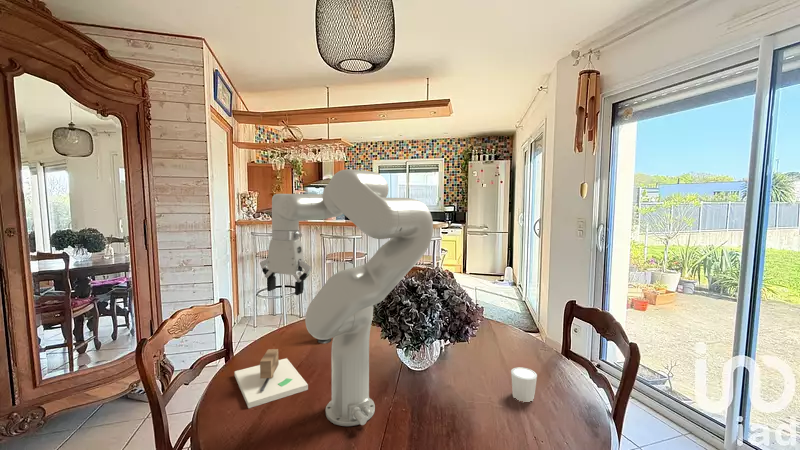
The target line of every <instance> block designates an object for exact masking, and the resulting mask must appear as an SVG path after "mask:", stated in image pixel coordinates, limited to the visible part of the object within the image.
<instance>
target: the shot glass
mask: <svg viewBox="0 0 800 450" xmlns="http://www.w3.org/2000/svg"><path fill="white" fill-rule="evenodd" d="M510 373H511V374H510V375H511V387H512V389H511V390H512V397H513V399H514V398H516V399H517V400H519V401H518V402H520V401H523V402H522V403H524V402H530V401H532V402H533V401H534V400H535V393H536V387H537V381H538V380H537V379H538V374H537V373H536V372H535V371H534V370H532V369H531V368H527V367H522V366H521V367H518V366H517V367H514V368H512V369H511V370H510ZM516 399H515V400H516ZM533 399H534V400H533ZM517 400H516V401H517ZM530 403H531V402H530Z"/></svg>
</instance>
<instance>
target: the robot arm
mask: <svg viewBox="0 0 800 450" xmlns="http://www.w3.org/2000/svg"><path fill="white" fill-rule="evenodd" d="M388 194H389V184H388V182H387V180H386V178H384V176H383V175H381V174H380V173H378V172H375V171H370V170H359V169H349V168H348V169H347V168H346V169H342V170H339V171H337V172H336V173H334V174H333V176H332V177H331V178H330V181H329V183H328V184H326V185H325V187H324V189H323V191H322V193H319V194H317V193H275V194H274V195H273V196H272V198H271V239H270V240H269V245H268V251H267V252H268V253H267V258H266V259H264V260H262V261H260V262H259V265H260V267H261V271H262V273H263V274H264V277H265V278H266V287H267V288H266V291H267V292H271V291H274V290H276V288H277V277H276V274H280V275H286V276H287V275H288V276H293V278H294V279H295V284H294V295H295V296H299V295H301V294H303V293H304V289H305V288H304V287H305V286H304V284H305V283H304V282H305V280H306V279H307V278H308V277H309V276H310V273H311V272H312V266H311V265H309V264H308V263H306V262H305V256H304V255H305V254H304V249H303V244H302V243H303V242H302V239H301V240H300V238H302V236H303V234H302V233H301V232H300V230H299V228H300V225H299V224H300V222H305V221H317V220H318V221H321V220H329V219H332V218H337V217H339V216H340V217H341V216H342V215H344V216H345V217H346V218H348V220H349V221H350V222H352V223H353V225H355V227H357V228H358V229H359V230H360V231H361V232H362V233H364V234H365V235H366V236H368V237H370V238H371V239H375V240H376V239H377V240H385V239H389V240H387V241H386V242H385V243H383V244H382V245H381V246H380V247H379V248H378V249H377V250H376V252H375V253H374V254H373V256H372V257H371V258H370V259H369V260H368V261H366V263H364V264H363V265H359V266H355V267H351V268H347V269H343V270H340V271H338V272H336V273H334V274H332V275H331V277H330V278H329V279H328V280H326V282H325V283H324V285H322V287H321V288H320V290H319V291H318V292H317V293H316V295H315V297H314V298H313V299H312V300H311V302H310V303H309V305H308V307H307V310H306V313H305V320H304V321H305V327H306V330H307V332H308V333H309V335H311V336H312V337H313V338H314V339H317V340H318V339H320V340H327V339H332V340H331V354H330V355H331V356H330V357H331V360H330V362H331V400H330V401H329V402H328V403H327V404H326V406H325V416H326V418H327V420H328V421H330V423H333V424H334V425H337V426H342V427H353V426H358V425H361V426H364V425H365V424H366V423H367V422H368V421H369V420H370V419H371V418H372V417H373V416H374V414H375V410H376V405H375V402H374V400H373V399H372V398H370V333H371V327H372V321H373V316H374V306H375V305H378V304H379V303H381V302H382V301H384V300H385V298H387V296H389V294H390V293H391V292H392V291H393V290H394V289H395V288H396V287H397V285H398V284H400V282H401V281H402V280H403V279H404V278H405V276H406V275H407V274H408V273H409V272H410V271H411V270H412V268H414V266H415V265H416V264H418V263H419V261H420V260H421V259H422V258H423V256H424V255H425V253H426V252H427V250H428V248H429V246H430V245H431V242H432V239H433V233H434V222H433V216H432V213H431V211H430V209H429V208H428V206H427V205H426V204H425V203H423V202H422V201H420V200H417V199H414V198H411V197H388V196H389V195H388Z"/></svg>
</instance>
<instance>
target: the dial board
mask: <svg viewBox="0 0 800 450" xmlns="http://www.w3.org/2000/svg"><path fill="white" fill-rule="evenodd" d="M278 362H279V365H278V367H277V368H276V370H275V372H274V374H273V378H270V380H269V381H268V383H267V385H266V387H265V388H264V390H263V391H261V392H260V389H261V387H262V386H263V384H264V382H265V381H266V379H267V378H260V364H258V365H254V366H250V367H246V368H243V369H238V370H235V371H234V377H235V380H236V382H237V384H238V385H237V386H238V388H239V390H240V391H241V394H242V396H243V399H244V401H245V404H246V406H247V408H248V409H252V408H253V407H254V408H255V407H257V406H261V405H264V404H266V403H267V404H268V403H270V402H274V401H276V400H280V399H282V398H286V397H289V396H292V395H295V394H299V393H302V392H305V391H308V390H309V384H308V383H307V381H306V380H305V378H303V377H302V375H301V374H300V372H298V370H297V369H296V368H295V367H294V365H293V364H292V362H290V360H289V359H288V357H286V358H282V359H278Z"/></svg>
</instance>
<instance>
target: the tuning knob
mask: <svg viewBox="0 0 800 450" xmlns="http://www.w3.org/2000/svg"><path fill="white" fill-rule="evenodd" d="M278 360H279V348H272V349H271V348H270V349H269V348H268V349H267V350H266V351H265V354H264V355H263V356H262V358H261V359H260V361H259V365H260V378H267V379H266V381H265V382H264V384H263V386H262V387H261V389H260V392H261V391H263V390H264V388H265V387H266V385H267V383H268V381H269V380H270V378H273V374H274V372H275V370H276V368H277V367H278V365H279V362H278Z"/></svg>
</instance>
